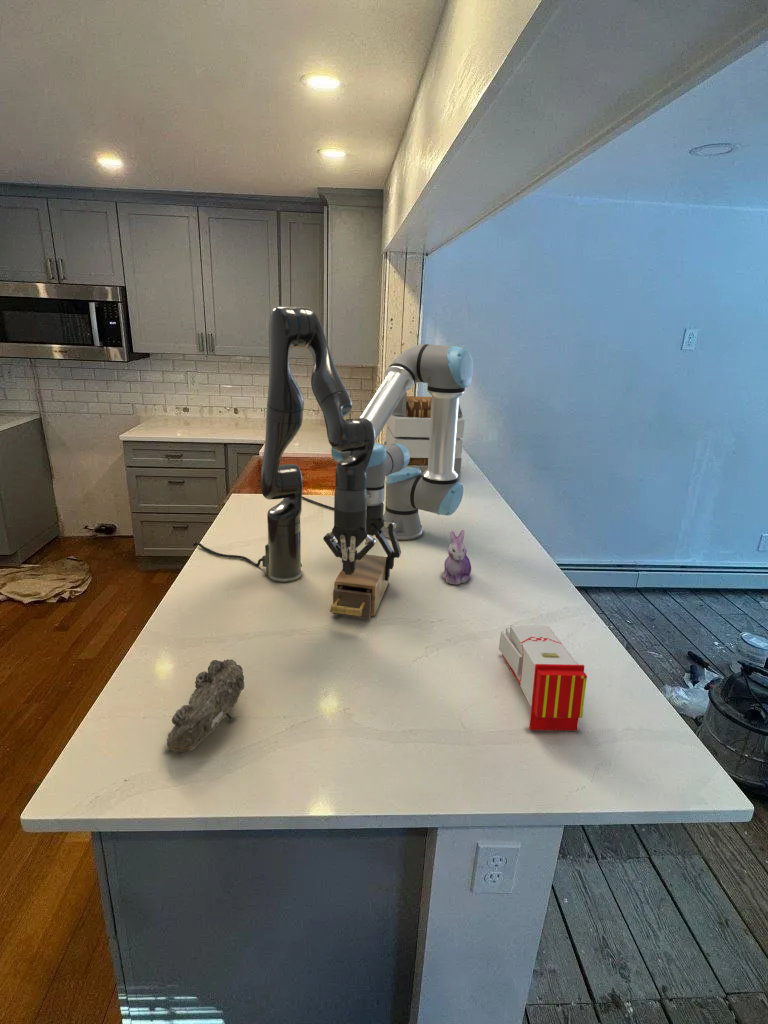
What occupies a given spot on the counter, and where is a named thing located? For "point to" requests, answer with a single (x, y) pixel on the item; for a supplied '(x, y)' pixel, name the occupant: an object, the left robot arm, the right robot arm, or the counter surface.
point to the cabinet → (367, 578)
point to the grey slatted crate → (418, 430)
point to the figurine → (457, 560)
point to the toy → (545, 676)
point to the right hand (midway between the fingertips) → (367, 576)
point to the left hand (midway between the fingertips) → (349, 573)
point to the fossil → (206, 705)
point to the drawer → (352, 601)
